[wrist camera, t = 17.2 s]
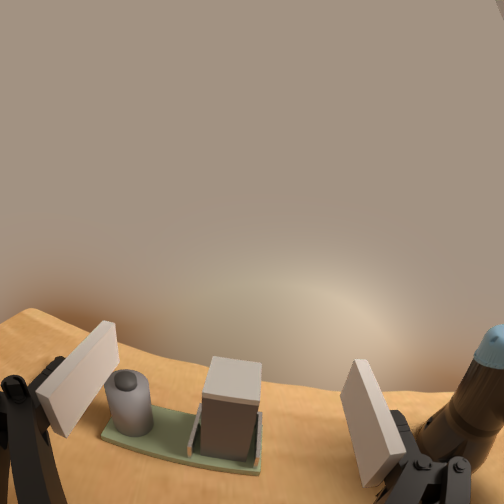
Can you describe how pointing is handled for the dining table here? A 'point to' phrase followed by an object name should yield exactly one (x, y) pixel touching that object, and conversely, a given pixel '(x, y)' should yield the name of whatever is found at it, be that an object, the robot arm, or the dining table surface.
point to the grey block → (229, 408)
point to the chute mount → (197, 426)
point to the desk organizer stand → (159, 427)
